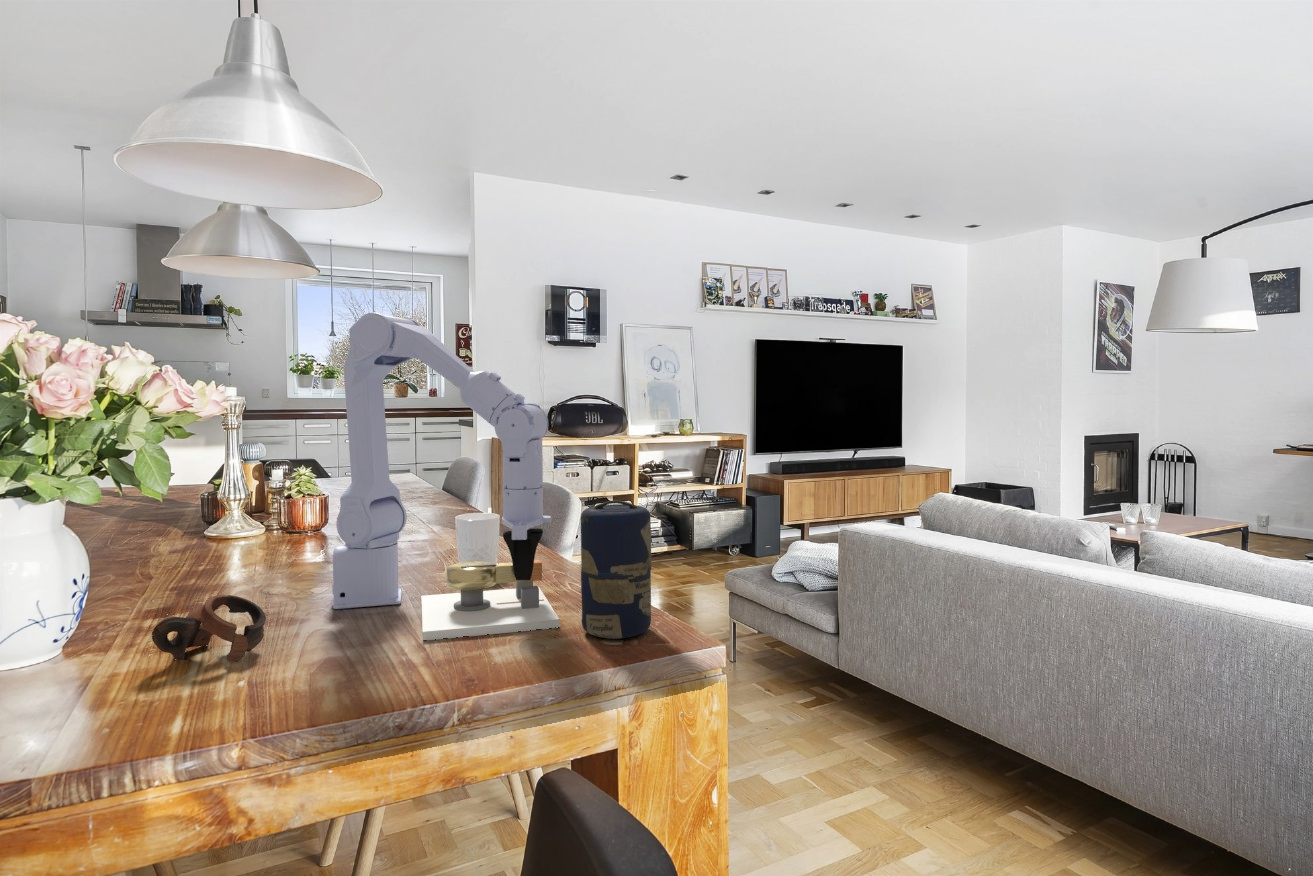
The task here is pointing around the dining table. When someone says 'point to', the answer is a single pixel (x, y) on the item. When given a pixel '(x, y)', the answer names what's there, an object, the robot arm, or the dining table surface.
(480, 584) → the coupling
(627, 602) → the canister
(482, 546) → the white cup
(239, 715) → the dining table surface
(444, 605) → the base
